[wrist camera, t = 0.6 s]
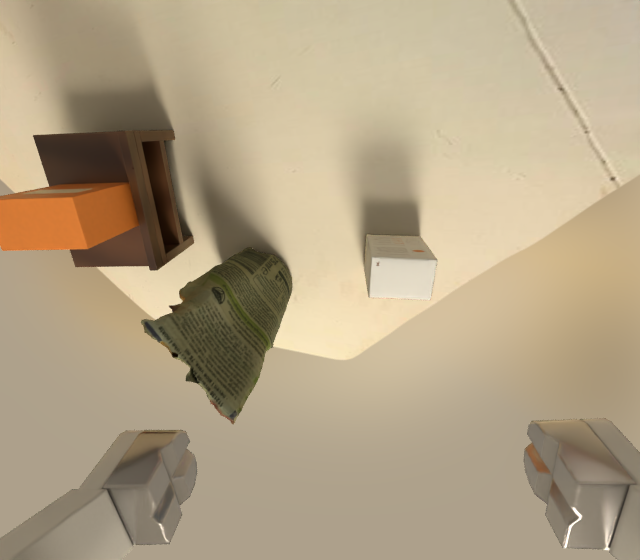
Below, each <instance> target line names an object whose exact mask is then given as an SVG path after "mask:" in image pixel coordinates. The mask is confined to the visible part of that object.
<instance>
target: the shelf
mask: <svg viewBox="0 0 640 560" xmlns="http://www.w3.org/2000/svg"><path fill="white" fill-rule="evenodd" d="M33 137H34V140H35V143H36V146H37V149H38V153H39V156H40V159H41V162H42V165H43V168H44V171H45V174H46V177H47V180H48V183H49V187H50V186H55V185H61V184H92V183H122V182H129V185H130V189H131V193H132V197H133V202H134V206H135V210H136V214H137V218H138V222H139V226H137V227H134V228H132V229H130V230H128V231H126V232H124V233H121V234H119V235H117V236H115V237H113V238H111V239H108V240H106V241H104V242H102V243H100V244H98V245H95V246H93V247H91V248H89V249H70V251H71V254H72V258H73V261H74V264H75V267H109V266H149V268H150V270H158V269H160V268H161V267H162V266H164V265H165V264H166V263H168V262H169V261H171V260H172V259H173V258H175V257H176V256H177V255H179V254H180V253H181V252H183V251H184V250H185V249H187V248H188V247H189V246H191V245H192V244H193V243H194V240H193V236H182V233H181V227H180V222H179V217H178V212H177V207H176V202H175V197H174V191H173V186H172V181H171V176H170V171H169V166H168V160H167V155H166V150H165V145H164V141H163V140H175V136H174V131H173V130H149V131H114V132H92V133H70V134H49V135H33Z"/></svg>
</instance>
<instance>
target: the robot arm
mask: <svg viewBox="0 0 640 560" xmlns="http://www.w3.org/2000/svg"><path fill="white" fill-rule="evenodd" d="M527 435H528V436H529V438H530V440H531V441H532V443H531V444H530V445H528V446H527V447H526V448H525V452H524V465H525V471H526V475H527V478H528V481H529V484H530V486H531V488H532V490H533V492H534V494H535V495H536V496H537V497H539V498H540V499H541V500H542V501H544V502H545V503H546V504H547V508H546V513H545V515H546V517H547V519H548V521H549V523H550V525H551V527H552V529H553V530H554V533H555V534H556V536H557V538H558V540H559V542H560V544H561V546H562V548H577V549H603V550H609V553H610V554H611V555H612V556H614V557H615V558H616V559H617V560H640V452H639V451H638V450H637V449H636V448H635V447H634V446H633V445H632V443H630V441H629V440H628V439H627V438H626V437H625V436H624V435H623V434H622V433H621V432H620V430H619V429H618V428H617V427H616V426H615V425H614V424H613V423H612V422H611V421H609V420H607V419H606V418H595V419H579V420H578V419H568V420H540V421H531V423H530V424H529V426H528V432H527ZM189 442H190V440H189V438H188V435H187V432H186V431H183V430H144V431H143V430H136V431H135V430H126V431H125V432H123V433H121V434H120V435H119V436H118V437H117V439H116V440H115V441H114V443H113V444H112V445H111V447H110V448H109V449H108V450H107V452H106V453H105V455H104V456H103V457H102V459H101V460H100V461H99V462H98V464H97V465H96V466H95V468H94V469H93V470H92V472H91V473H90V474H89V476H88V477H87V478H86V480H85V481H84V482H83V484H82V485H81V486H80V488H79V489H72V490H70V491H69V492H67V493H66V494H65V495H63V496H62V497H60V498H59V499H57V500H56V501H54V502H53V503H51V504H50V505H48V506H47V507H45V508H44V509H43V510H41V511H40V512H38V513H37V514H35V515H34V516H32V517H31V518H29V519H28V520H26V521H25V522H24V523H22V524H21V525H19V526H18V527H16V528H15V529H13V530H12V531H10V532H9V533H7V534H6V535H4V536H3V537H1V538H0V560H122V559H123V558H124V557H125V556H126V555H127V554H128V553H129V552H130V551H131V550H132V549H133V545H152V544H170V542H171V539H172V537H173V535H174V532H175V530H176V528H177V526H178V523H179V521H180V519H181V516H182V512H181V508H180V505H181V504H182V503H183V502H184V501H185V500H187V499H188V498H189V497H190V495H191V493H192V490H193V488H194V485H195V481H196V475H197V463H196V459H195V456H194V454H193V453H192V452H190V451H189V450H188V449H187V446H188V444H189Z"/></svg>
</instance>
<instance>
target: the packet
mask: <svg viewBox="0 0 640 560" xmlns="http://www.w3.org/2000/svg"><path fill="white" fill-rule="evenodd" d="M137 226H139V222H138V218H137V214H136V210H135V206H134V202H133V197H132V193H131V189H130V185H129V182H122V183H92V184H61V185H55V186H50V187H45V188H40V189H35V190H30V191H25V192H19V193H14V194H10V195H4V196H0V246H1V249H2V250H3V251H7V250H59V249H61V250H63V249H89V248H91V247H93V246H95V245H98V244H100V243H102V242H104V241H106V240H108V239H111V238H113V237H115V236H117V235H119V234H121V233H124V232H126V231H128V230H130V229H132V228H134V227H137Z"/></svg>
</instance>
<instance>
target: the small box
mask: <svg viewBox="0 0 640 560" xmlns="http://www.w3.org/2000/svg"><path fill="white" fill-rule="evenodd" d="M436 266H437V258H436V257H435V256H434V254H433V253H432V251H431V250H430V249H429V247H428V246H427V245H426V243H425V242H424V241H423V239H422V238H421V236H397V235H369V234H367V235H366V248H365V262H364V272H365V278H366V284H367V291H368V296H369V298H386V299H411V300H431V296H432V290H433V284H434V278H435V272H436Z"/></svg>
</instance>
